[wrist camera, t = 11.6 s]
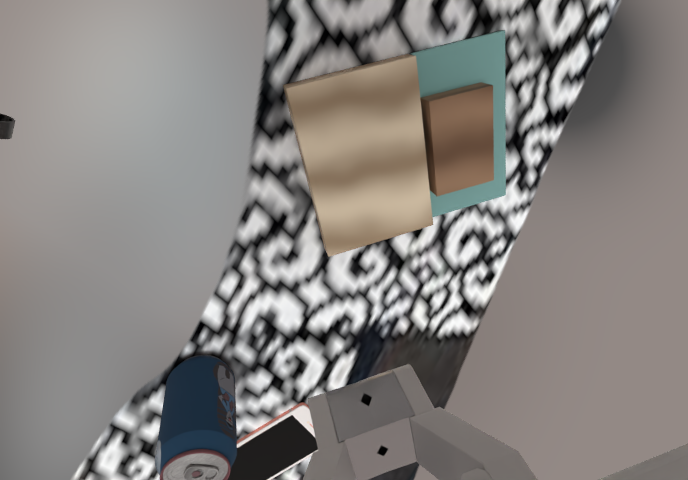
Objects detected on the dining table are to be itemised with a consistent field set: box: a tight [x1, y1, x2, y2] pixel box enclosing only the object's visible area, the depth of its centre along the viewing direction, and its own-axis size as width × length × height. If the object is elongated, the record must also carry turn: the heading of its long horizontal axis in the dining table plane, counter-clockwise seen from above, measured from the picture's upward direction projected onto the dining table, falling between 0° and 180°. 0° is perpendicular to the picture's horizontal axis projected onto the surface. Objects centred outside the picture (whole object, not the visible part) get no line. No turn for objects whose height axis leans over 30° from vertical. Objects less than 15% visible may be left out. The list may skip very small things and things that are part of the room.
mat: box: [410, 30, 506, 217], centre depth 41 cm, size 16×9×1 cm, turn 11°
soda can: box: [155, 355, 237, 480], centre depth 41 cm, size 7×7×12 cm
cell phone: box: [227, 403, 318, 480], centre depth 55 cm, size 9×18×1 cm, turn 118°
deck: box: [283, 54, 433, 256], centre depth 39 cm, size 16×11×2 cm
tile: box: [420, 82, 494, 196], centre depth 40 cm, size 9×6×2 cm, turn 11°
